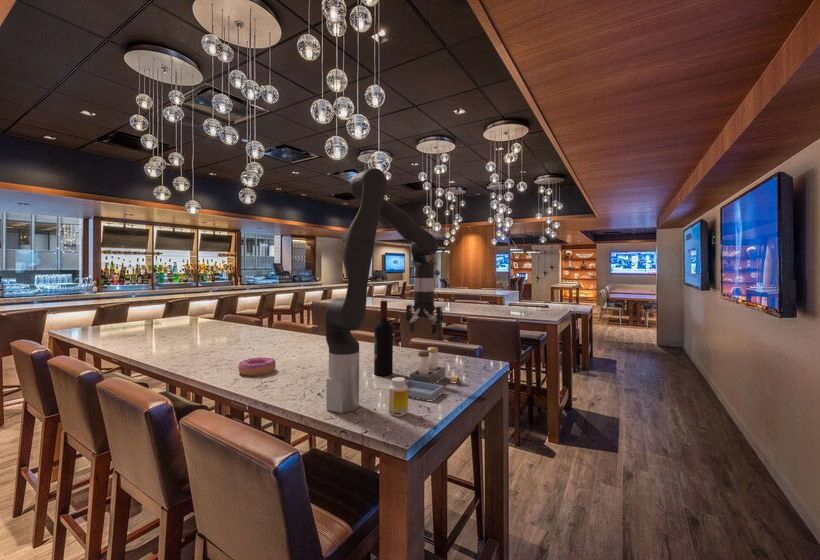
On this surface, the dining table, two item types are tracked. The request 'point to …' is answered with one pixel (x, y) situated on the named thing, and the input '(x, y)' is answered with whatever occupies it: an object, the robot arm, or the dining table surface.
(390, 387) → the supplement bottle
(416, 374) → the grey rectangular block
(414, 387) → the parts tray
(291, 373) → the dining table surface
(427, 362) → the cylinder
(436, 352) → the cylinder
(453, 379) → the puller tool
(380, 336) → the wine bottle
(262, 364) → the donut
